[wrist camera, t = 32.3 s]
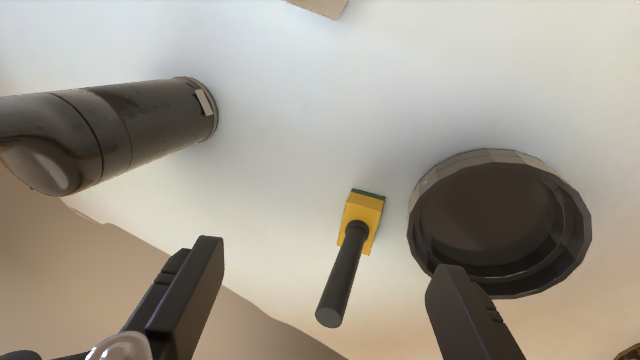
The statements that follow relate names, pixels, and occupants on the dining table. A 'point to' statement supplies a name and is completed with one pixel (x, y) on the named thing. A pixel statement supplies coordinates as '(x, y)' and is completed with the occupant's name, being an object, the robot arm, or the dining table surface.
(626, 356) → the wood slice
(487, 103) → the dining table surface
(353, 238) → the sponge wand
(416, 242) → the bowl
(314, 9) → the milk carton
